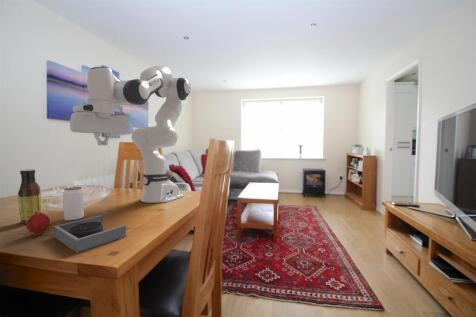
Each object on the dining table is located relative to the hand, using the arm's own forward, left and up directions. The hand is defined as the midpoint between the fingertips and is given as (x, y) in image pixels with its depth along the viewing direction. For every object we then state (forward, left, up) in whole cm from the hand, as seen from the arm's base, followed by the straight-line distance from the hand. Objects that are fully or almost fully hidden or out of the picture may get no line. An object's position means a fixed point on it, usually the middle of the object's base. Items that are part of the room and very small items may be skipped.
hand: (102, 145), depth 86 cm
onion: (+20, 0, -29) cm, 36 cm away
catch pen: (+11, +15, -29) cm, 34 cm away
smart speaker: (+12, +15, -30) cm, 35 cm away
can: (+7, -10, -29) cm, 32 cm away
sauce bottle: (+18, -18, -29) cm, 39 cm away
